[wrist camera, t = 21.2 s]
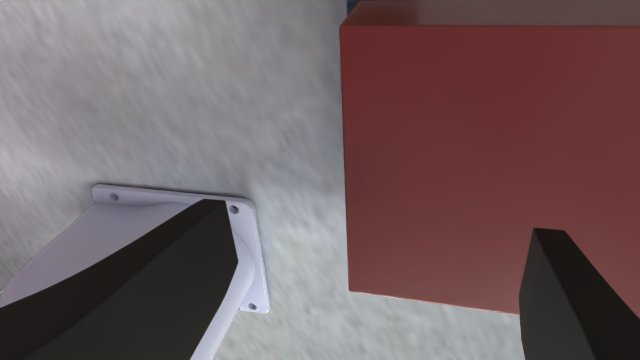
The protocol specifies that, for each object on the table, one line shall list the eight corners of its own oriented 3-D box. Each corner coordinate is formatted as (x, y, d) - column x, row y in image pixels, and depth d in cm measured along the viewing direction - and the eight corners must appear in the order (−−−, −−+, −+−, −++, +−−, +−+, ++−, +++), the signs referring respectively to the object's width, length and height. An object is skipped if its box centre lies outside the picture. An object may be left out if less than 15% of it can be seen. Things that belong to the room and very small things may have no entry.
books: (364, 198, 22) (337, 290, 17) (362, -18, 17) (323, 25, 12) (622, 222, 19) (677, 338, 14) (711, -24, 14) (842, 26, 9)
